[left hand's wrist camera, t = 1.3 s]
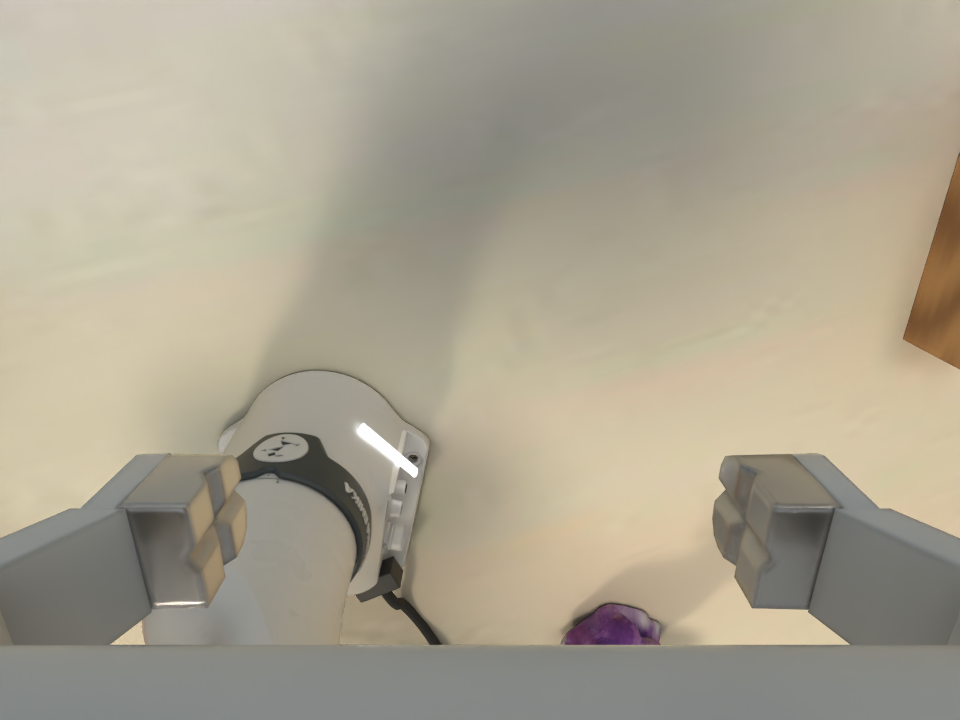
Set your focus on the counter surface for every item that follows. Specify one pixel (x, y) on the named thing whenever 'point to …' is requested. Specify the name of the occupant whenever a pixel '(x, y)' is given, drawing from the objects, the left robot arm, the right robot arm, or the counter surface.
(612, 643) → the figurine
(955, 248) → the bar
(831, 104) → the counter surface
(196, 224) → the counter surface
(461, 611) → the counter surface
